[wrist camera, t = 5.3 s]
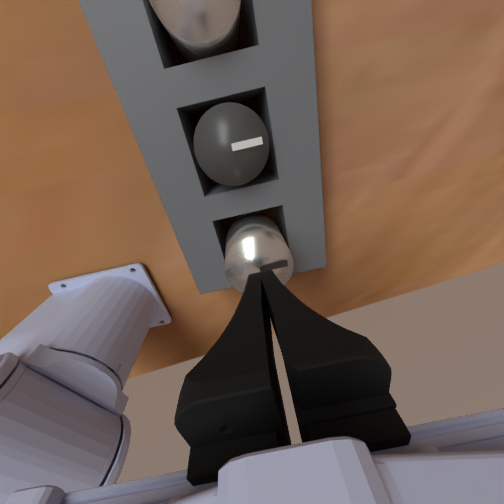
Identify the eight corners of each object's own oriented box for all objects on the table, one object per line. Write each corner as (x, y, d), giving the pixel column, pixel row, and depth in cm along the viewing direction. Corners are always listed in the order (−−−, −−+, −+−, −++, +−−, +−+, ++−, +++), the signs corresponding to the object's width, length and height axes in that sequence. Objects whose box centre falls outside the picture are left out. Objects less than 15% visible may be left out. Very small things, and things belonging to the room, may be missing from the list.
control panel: (205, 269, 22) (200, 294, 19) (91, -34, 12) (36, -101, 9) (311, 245, 22) (326, 266, 18) (281, -85, 12) (301, -176, 9)
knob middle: (212, 180, 18) (206, 193, 14) (194, 118, 16) (181, 112, 12) (265, 168, 18) (275, 177, 14) (254, 104, 16) (262, 93, 12)
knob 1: (182, 74, 15) (163, 51, 11) (154, -21, 13) (118, -94, 9) (246, 58, 15) (251, 28, 11) (229, -41, 12) (227, -125, 8)
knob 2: (233, 268, 19) (234, 303, 15) (219, 220, 17) (215, 247, 13) (283, 257, 19) (297, 289, 15) (275, 207, 17) (289, 230, 13)
